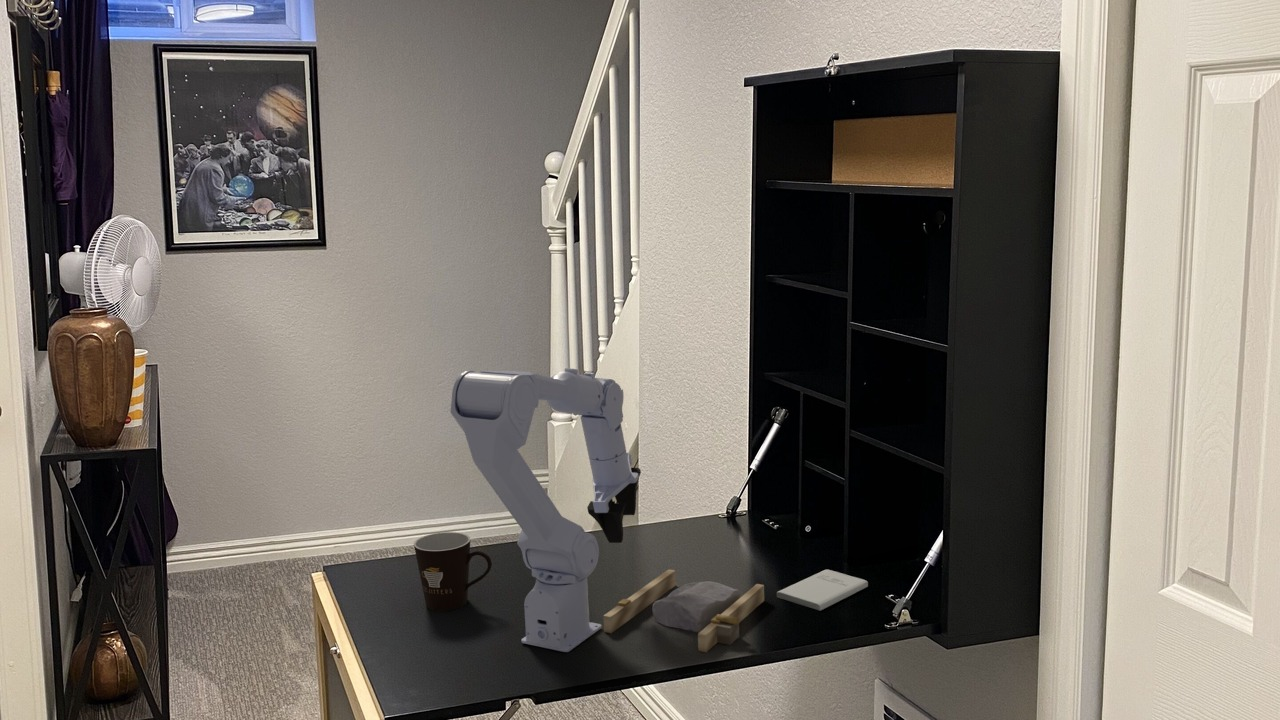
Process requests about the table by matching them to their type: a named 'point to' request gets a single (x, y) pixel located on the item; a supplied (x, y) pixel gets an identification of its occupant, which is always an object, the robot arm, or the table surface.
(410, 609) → the table surface
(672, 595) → the stone block
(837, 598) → the external hard drive
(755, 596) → the beam track
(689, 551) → the table surface
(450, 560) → the coffee mug
